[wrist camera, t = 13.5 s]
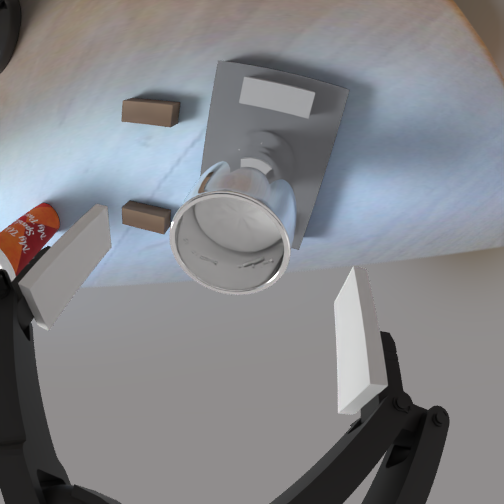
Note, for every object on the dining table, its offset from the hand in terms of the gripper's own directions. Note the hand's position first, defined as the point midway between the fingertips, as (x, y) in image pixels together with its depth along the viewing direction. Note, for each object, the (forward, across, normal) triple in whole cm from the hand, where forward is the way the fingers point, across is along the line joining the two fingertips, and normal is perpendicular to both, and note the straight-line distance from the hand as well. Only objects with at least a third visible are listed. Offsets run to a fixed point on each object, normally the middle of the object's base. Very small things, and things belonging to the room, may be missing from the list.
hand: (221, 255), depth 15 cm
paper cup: (+19, -33, -16) cm, 41 cm away
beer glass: (+16, 0, 0) cm, 16 cm away
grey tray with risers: (+18, 0, 0) cm, 18 cm away
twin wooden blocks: (+18, -13, -4) cm, 23 cm away
